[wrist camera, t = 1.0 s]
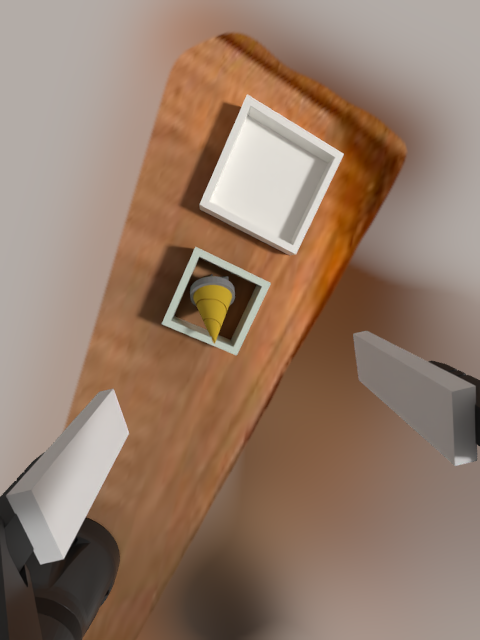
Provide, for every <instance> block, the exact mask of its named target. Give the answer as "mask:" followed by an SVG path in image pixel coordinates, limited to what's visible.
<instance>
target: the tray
mask: <svg viewBox="0 0 480 640" xmlns="http://www.w3.org/2000/svg"><path fill="white" fill-rule="evenodd" d="M343 155H344V154H343V153H341V152H340V151H338V150H337V149H335V148H333V147H332V146H330V145H328V144H327V143H325V142H324V141H322V140H320V139H319V138H317V137H315V136H314V135H312V134H311V133H309V132H307V131H306V130H304V129H302V128H301V127H299V126H298V125H296V124H294V123H293V122H291V121H290V120H288V119H286V118H285V117H283V116H281V115H280V114H278V113H277V112H275V111H273V110H272V109H270V108H268V107H267V106H265V105H264V104H262V103H260V102H259V101H257V100H255V99H254V98H252V97H251V96H249V95H247V96H246V98H245V100H244V103H243V105H242V107H241V110H240V112H239V114H238V117H237V119H236V121H235V124H234V126H233V128H232V130H231V133H230V135H229V137H228V140H227V142H226V144H225V147H224V149H223V151H222V154H221V156H220V158H219V161H218V163H217V165H216V167H215V170H214V172H213V174H212V177H211V179H210V181H209V184H208V186H207V188H206V191H205V193H204V195H203V198H202V200H201V202H200V205H199V206H200V210H202V211H204V212H206V213H208V214H210V215H212V216H214V217H215V218H217V219H219V220H221V221H223V222H225V223H227V224H229V225H231V226H233V227H235V228H237V229H239V230H241V231H243V232H245V233H247V234H249V235H251V236H253V237H255V238H256V239H258V240H260V241H262V242H264V243H266V244H268V245H270V246H272V247H274V248H276V249H278V250H280V251H282V252H284V253H286V254H288V255H295V254H296V253H297V251H298V249H299V247H300V245H301V243H302V241H303V239H304V236H305V234H306V232H307V230H308V228H309V226H310V224H311V222H312V220H313V218H314V216H315V213H316V211H317V209H318V207H319V205H320V203H321V201H322V199H323V197H324V195H325V193H326V191H327V188H328V186H329V184H330V182H331V180H332V178H333V176H334V174H335V172H336V170H337V168H338V165H339V163H340V161H341V159H342V157H343Z"/></svg>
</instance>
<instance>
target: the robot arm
mask: <svg viewBox="0 0 480 640" xmlns="http://www.w3.org/2000/svg"><path fill="white" fill-rule="evenodd" d="M353 338H354V345H355V354H356V361H357V369H358V377H359V381H361V382H362V383H363V384H364V385H365V386H366V387H367V388H368V389H369V390H371V391H372V392H373V393H374V394H375V395H376V396H377V397H378V398H380V399H381V400H382V401H383V402H384V403H385V404H386V405H387V406H389V407H390V408H391V409H392V410H393V411H394V412H395V413H396V414H397V415H399V416H400V417H401V418H402V419H403V420H404V421H405V422H407V423H408V424H409V425H410V426H411V427H412V428H413V429H414V430H415V431H417V432H418V433H419V434H420V435H421V436H422V437H423V438H425V439H426V440H427V441H428V442H429V443H430V444H431V445H432V446H433V447H434V448H436V449H437V450H438V451H439V452H440V453H441V454H442V455H443V456H444V457H446V458H447V459H448V460H449V461H450V462H451V463H452V464H453V465H455V466H457V465H461V464H465V463H469V462H473V461H477V445H479V446H480V380H478V379H476V378H474V377H472V376H469V375H466V374H465V373H463V372H461V371H459V370H458V371H457V369H455V368H453V367H450V366H448V365H446V364H443V363H439V362H435V361H428V362H427V361H425V360H423V359H422V358H420V357H418V356H416V355H414V354H412V353H410V352H408V351H406V350H404V349H402V348H400V347H398V346H396V345H394V344H392V343H390V342H388V341H386V340H384V339H382V338H380V337H378V336H376V335H374V334H372V333H370V332H368V331H363V332H359V333H355V334H353ZM128 434H129V431H128V428H127V426H126V423H125V420H124V417H123V414H122V411H121V408H120V406H119V403H118V400H117V397H116V394H115V391H114V389H109V390H105V391H101V392H99V393H98V394H97V395H96V396H95V397H94V398H93V399H92V401H91V402H90V403H89V404H88V405H87V406H86V407H85V408H84V409H83V411H82V412H81V413H80V414H79V415H78V416H77V417H76V418H75V419H74V421H73V422H72V423H71V424H70V425H69V426H68V427H67V428H66V429H65V431H64V432H63V433H62V434H61V435H60V436H59V437H58V438H57V440H56V441H55V442H54V443H53V444H52V445H51V446H50V447H49V448H48V450H47V451H46V452H44V453H43V454H42V455H40V456H39V457H38V458H36V459H35V460H34V461H33V462H32V463H31V464H30V465H29V466H28V467H27V468H26V470H25V472H23V473H22V474H21V475H20V476H19V477H18V478H17V481H15V482H14V483H13V484H12V485H11V486H10V487H9V488H8V489H7V490H6V491H5V492H4V493H3V495H2V496H1V497H0V640H82V638H83V636H84V635H85V633H86V631H87V630H88V628H89V626H90V625H91V623H92V621H93V620H94V618H95V616H96V614H97V612H98V610H99V608H100V606H101V605H102V604H103V603H104V601H105V600H106V598H107V597H108V595H109V593H110V591H111V589H112V587H113V584H114V581H115V578H116V575H117V571H118V567H119V562H120V554H119V549H118V546H117V543H116V541H115V540H114V538H113V537H112V535H111V534H110V533H109V532H108V531H107V530H106V529H105V528H104V527H102V526H101V525H99V524H98V523H96V522H94V521H92V520H89V519H86V518H85V517H86V515H87V513H88V511H89V510H90V508H91V506H92V504H93V502H94V500H95V498H96V496H97V494H98V492H99V490H100V488H101V486H102V485H103V483H104V481H105V479H106V477H107V475H108V473H109V471H110V469H111V467H112V465H113V463H114V461H115V459H116V458H117V456H118V454H119V452H120V450H121V448H122V446H123V444H124V442H125V440H126V438H127V436H128Z"/></svg>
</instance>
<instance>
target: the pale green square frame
mask: <svg viewBox="0 0 480 640" xmlns="http://www.w3.org/2000/svg"><path fill="white" fill-rule="evenodd" d="M199 258H201V259H203V260H205V261H207V262H209V263H211V264H213V265H216V266H218V267H220V268H222V269H224V270H226V271H228V272H230V273H232V274H234V275H236V276H239V277H241V278H243V279H245V280H247V281H249V282H251V283H253V284H255V285H256V287H255V289H254V292H253V294H252V296H251V298H250V300H249V302H248V304H247V306H246V309H245V311H244V313H243V315H242V317H241V319H240V321H239V324H238V326H237V328H236V330H235V332H234V334H233V336H232V338H231V340H229V339H227V338H225V337H222V336H220V335H218V337H217V339H216V342H215V344H214V343H213V341H212V337H211V336H210V335H209V332H208V330H206V329H204V328H201V327H199V326H197V325H194V324H192V323H189V322H187V321H185V320H182V319H180V318H178V317H175V316H174V315H175V312H176V310H177V308H178V306H179V303H180V301H181V299H182V297H183V294H184V292H185V290H186V288H187V285H188V283H189V281H190V278H191V276H192V274H193V272H194V269H195V267H196V265H197V263H198V260H199ZM270 284H271V283H269V282H267V281H265V280H263V279H261V278H259V277H257V276H255V275H253V274H251V273H249V272H247V271H245V270H243V269H241V268H238V267H236V266H234V265H232V264H230V263H228V262H226V261H224V260H222V259H220V258H218V257H216V256H214V255H212V254H210V253H207V252H205V251H203V250H201V249H199V248H197V247H195V249H194V251H193V254H192V256H191V258H190V260H189V263H188V265H187V267H186V269H185V272H184V274H183V276H182V279H181V281H180V283H179V285H178V288H177V290H176V292H175V295H174V297H173V299H172V301H171V304H170V306H169V308H168V311H167V313H166V315H165V317H164V320H163V322H162V325H165V326H167V327H170V328H172V329H174V330H177V331H179V332H182V333H184V334H186V335H189V336H191V337H194V338H196V339H198V340H201V341H203V342H206V343H208V344H210V345H213V346H215V347H218V348H220V349H222V350H225V351H227V352H229V353H232V354H234V355H237V354H238V352H239V350H240V347H241V345H242V343H243V341H244V339H245V337H246V335H247V333H248V331H249V329H250V326H251V324H252V322H253V320H254V318H255V316H256V314H257V312H258V310H259V307H260V305H261V303H262V301H263V299H264V297H265V295H266V293H267V291H268V288H269V286H270Z"/></svg>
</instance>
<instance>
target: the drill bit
mask: <svg viewBox="0 0 480 640" xmlns="http://www.w3.org/2000/svg"><path fill="white" fill-rule="evenodd" d="M234 299H235V289H234V286H233V284H232V283H231V282H230V281H229V278H228V276H223V277H216V276H212V274H211V275H210V276H209V277H204V278H201V279H199V280H197V281H195V282H194V283H193V284H192V286H191V288H190V300H191V302H192V303H193V304H194V305H195V306H197V308H198V310H199V313H200V315H201V317H202V319H203V321H204V324H205V326H206V328H207V330H208V332H209V335H210V336H211V337H212V341H213V343H214V344H215V342H216V339H217V337H218V334H219V331H220V329H221V326H222V323H223V321H224V318H225V315H226V313H227V310H228V307H229V305H231V304H232V303H233V301H234Z"/></svg>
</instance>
